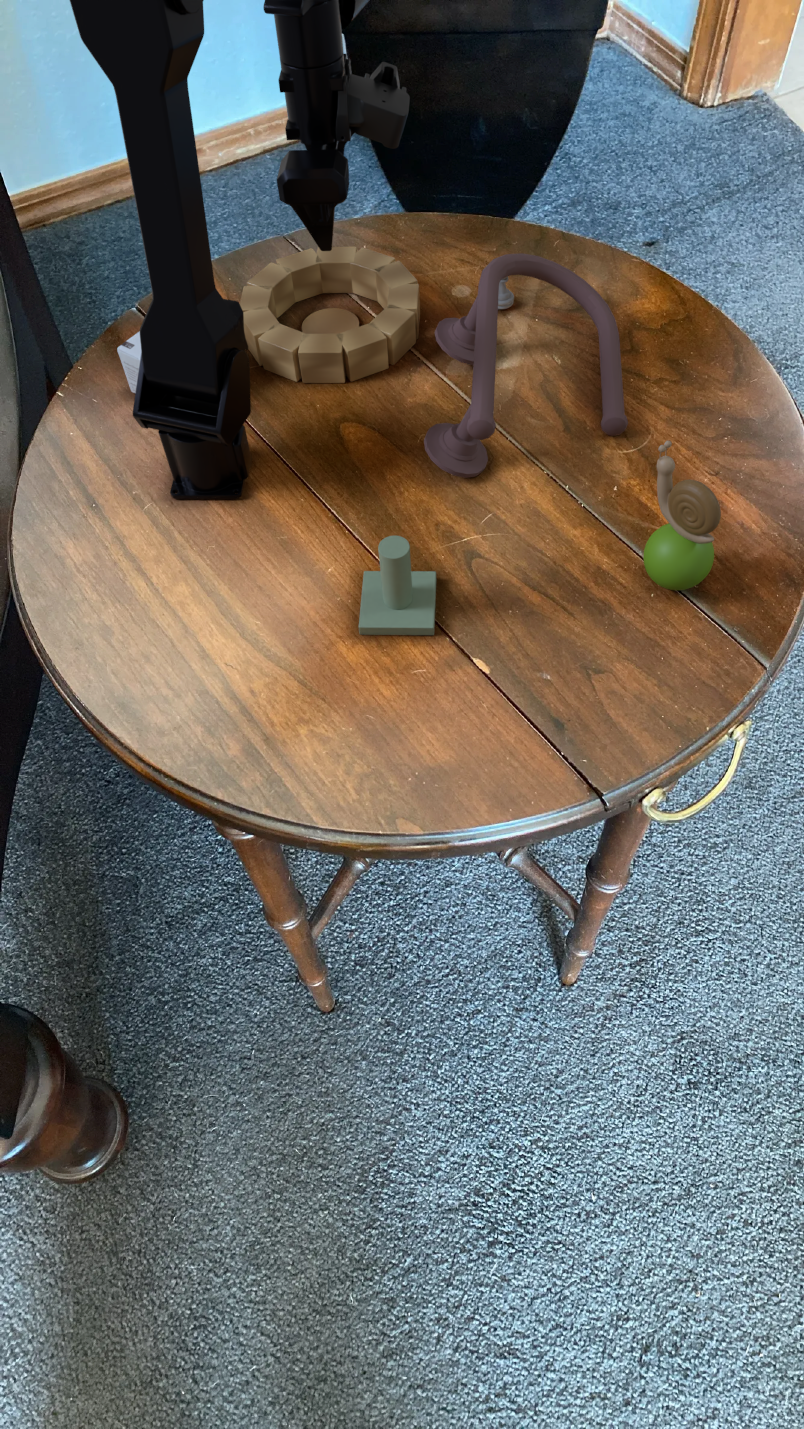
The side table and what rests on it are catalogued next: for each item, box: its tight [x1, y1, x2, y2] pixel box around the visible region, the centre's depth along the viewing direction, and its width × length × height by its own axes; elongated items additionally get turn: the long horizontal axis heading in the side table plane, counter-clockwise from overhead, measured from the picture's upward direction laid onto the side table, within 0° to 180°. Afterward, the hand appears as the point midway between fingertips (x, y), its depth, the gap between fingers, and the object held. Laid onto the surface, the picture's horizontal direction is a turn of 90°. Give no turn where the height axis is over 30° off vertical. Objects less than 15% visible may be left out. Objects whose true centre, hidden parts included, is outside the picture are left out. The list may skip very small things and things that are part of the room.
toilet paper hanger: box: [423, 252, 629, 479], centre depth 92 cm, size 28×7×17 cm
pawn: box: [498, 276, 515, 310], centre depth 100 cm, size 3×3×4 cm
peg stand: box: [358, 535, 437, 636], centre depth 76 cm, size 6×6×7 cm
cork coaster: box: [301, 307, 360, 334], centre depth 101 cm, size 6×6×1 cm
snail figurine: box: [642, 440, 722, 591], centre depth 75 cm, size 5×6×12 cm
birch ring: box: [239, 246, 421, 384], centre depth 99 cm, size 18×18×4 cm
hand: (330, 224), depth 99 cm, fingers open, 9 cm apart
